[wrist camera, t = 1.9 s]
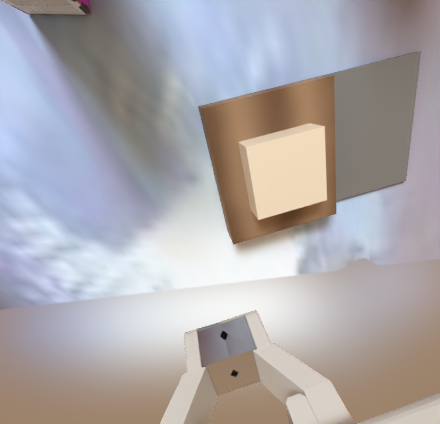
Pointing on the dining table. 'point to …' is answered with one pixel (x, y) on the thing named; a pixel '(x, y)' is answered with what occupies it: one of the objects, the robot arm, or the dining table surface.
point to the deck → (258, 126)
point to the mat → (374, 123)
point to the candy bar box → (51, 6)
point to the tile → (285, 170)
